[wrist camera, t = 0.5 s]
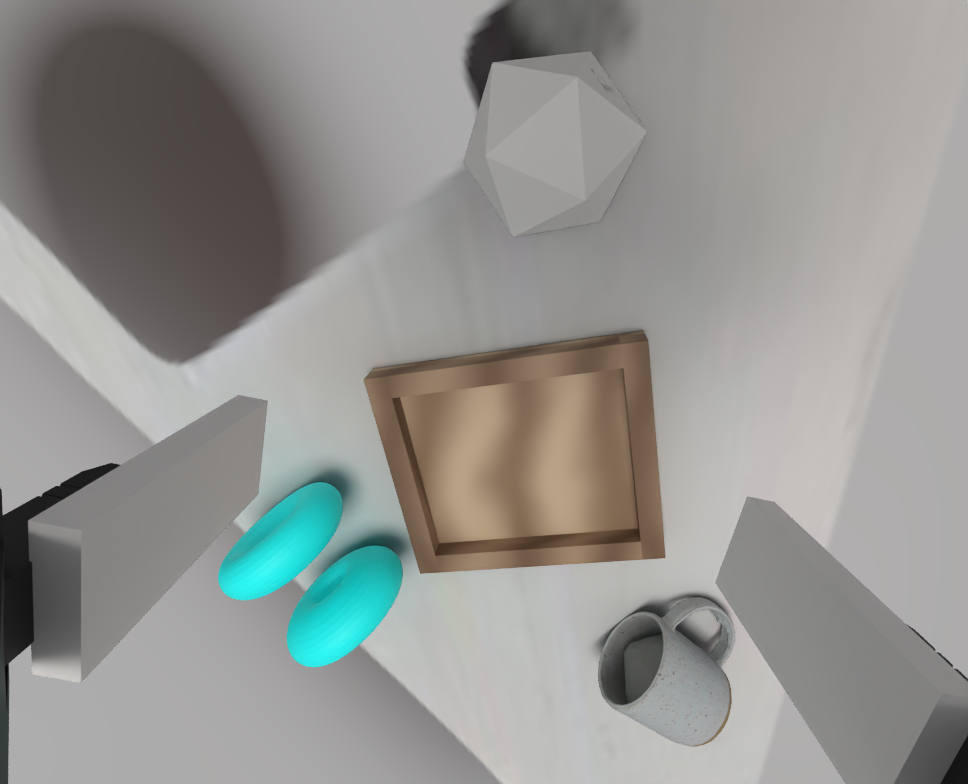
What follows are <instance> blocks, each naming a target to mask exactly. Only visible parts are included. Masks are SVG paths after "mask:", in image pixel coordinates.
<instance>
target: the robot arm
mask: <svg viewBox="0 0 968 784" xmlns="http://www.w3.org/2000/svg"><path fill="white" fill-rule="evenodd" d="M267 402H268V401H266V400H261V399H256V398H251V397H246V396H241V395H238V396H236V397H234V398H233V399H231V400H229V401H228V402H226V403H224V404H223V405H221V406H219V407H218V408H216V409H214V410H213V411H211V412H209V413H208V414H206V415H204V416H203V417H201V418H199V419H198V420H196V421H194V422H193V423H191V424H189V425H187V426H186V427H184V428H182V429H181V430H179V431H177V432H176V433H174V434H172V435H171V436H169V437H167V438H166V439H164V440H162V441H161V442H159V443H157V444H156V445H154V446H152V447H151V448H149V449H147V450H146V451H144V452H142V453H140V454H139V455H137V456H136V457H134V458H132V459H130V460H129V461H127V462H126V463H124V464H122V465H118V464H113V463H110V464H106V465H103V466H99V467H96V468H93V469H89V470H86V471H82V472H81V473H79V474H77V475H75V476H74V477H72V478H70V479H68V480H66V481H64V482H63V483H61V485H60V486H55V487H54V488H52V489H50V490H48V491H46V492H45V493H43V495H42V496H41V497H40V496H38V497H36V498H34V499H32V500H30V501H28V502H26V503H25V504H23V505H21V506H19V507H18V508H16V509H14V510H13V511H10V512H8V513H7V514H5V515H2V493H1V489H0V784H8V741H9V740H8V739H9V736H8V735H9V663H10V662H11V661H12V660H13V659H14V658H15V657H16V656H17V655H18V654H20V653H21V652H22V651H23V650H24V649H26V648H27V647H28V646H29V645H30V644H31V650H32V674H34V675H40V676H45V677H51V678H56V679H62V680H68V681H74V682H79V683H81V682H82V681H83V680H84V679H85V678H86V677H87V676H88V675H89V674H90V672H92V671H93V669H94V668H95V667H96V666H97V665H98V664H99V663H100V662H101V661H102V660H103V659H104V658H105V657H106V656H107V654H109V652H110V651H111V650H112V649H113V648H114V647H115V646H116V645H117V644H118V643H119V642H120V641H121V640H122V639H123V638H124V637H125V635H126V634H127V633H128V632H129V631H130V630H131V629H132V628H133V627H134V626H135V625H136V624H137V623H138V622H139V621H140V619H141V618H142V617H143V616H144V615H145V614H146V613H147V612H148V611H149V610H150V609H151V608H152V607H153V606H154V605H155V603H156V602H157V601H158V600H159V599H160V598H161V597H162V596H163V595H164V594H165V593H166V592H167V591H168V590H169V589H170V588H171V587H172V585H173V584H174V583H175V582H176V581H177V580H178V579H179V578H180V577H181V576H182V574H184V572H186V571H187V569H188V568H189V567H190V566H191V565H192V564H193V563H194V562H195V561H196V560H197V559H198V558H199V557H200V556H201V555H202V554H203V552H204V551H205V550H206V549H207V548H208V547H209V546H210V545H211V544H212V543H213V542H214V541H215V540H216V539H217V538H218V537H219V535H220V534H221V533H222V532H223V531H224V530H225V529H226V528H227V527H228V526H229V525H230V524H231V523H232V522H233V521H234V519H235V518H236V517H237V516H238V515H239V514H240V513H241V512H242V511H243V510H244V509H245V508H246V507H247V506H248V505H249V504H250V502H251V501H252V500H253V499H254V498H255V497H256V496H257V495H258V492H259V482H260V472H261V462H262V452H263V442H264V432H265V422H266V412H267ZM715 583H716V584H717V586H718V588H719V589H720V591H721V592H722V594H723V595H724V597H725V598H726V600H727V601H728V603H729V605H730V606H731V608H732V609H733V611H734V612H735V614H736V615H737V617H738V618H739V620H740V622H741V623H742V625H743V626H744V628H745V629H746V631H747V632H748V634H749V635H750V637H751V639H752V640H753V642H754V643H755V645H756V646H757V648H758V649H759V651H760V652H761V654H762V655H763V657H764V659H765V660H766V662H767V663H768V665H769V666H770V668H771V669H772V671H773V672H774V674H775V676H776V677H777V679H778V680H779V682H780V683H781V685H782V686H783V688H784V689H785V691H786V693H787V694H788V695H789V697H790V699H791V700H792V702H793V703H794V705H795V706H796V708H797V709H798V711H799V713H800V714H801V716H802V717H803V719H804V720H805V722H806V723H807V725H808V726H809V728H810V730H811V731H812V733H813V734H814V736H815V737H816V739H817V740H818V742H819V743H820V745H821V747H822V748H823V750H824V751H825V753H826V754H827V756H828V757H829V759H830V760H831V762H832V763H833V765H834V767H835V768H836V770H837V771H838V773H839V774H840V776H841V777H842V779H843V781H844V782H845V783H846V784H968V679H967V678H966V677H965V676H964V675H963V674H962V673H961V672H960V671H959V670H957V669H954V668H953V667H952V666H953V665H952V664H951V663H950V662H949V661H948V660H947V659H946V658H944V657H943V656H942V655H941V654H940V653H937V652H935V649H934V647H933V646H932V645H930V644H929V643H928V642H927V641H926V640H925V639H924V638H923V637H922V636H921V635H920V634H919V633H917V632H916V631H915V630H914V629H913V628H911V627H910V626H908V625H907V624H905V623H904V622H903V621H902V620H901V619H900V618H899V617H897V615H895V614H894V613H893V612H892V611H891V610H890V609H889V608H888V607H887V606H886V605H885V604H884V603H882V602H881V601H880V600H879V599H878V598H877V597H876V596H875V595H874V594H873V593H871V591H870V590H869V589H867V588H866V587H865V586H864V585H863V584H862V583H861V582H860V581H859V580H858V579H857V578H856V577H854V576H853V575H852V574H851V573H850V572H849V571H848V570H847V569H846V568H845V567H844V566H843V565H842V564H841V563H839V562H838V561H837V560H836V559H835V558H834V557H833V556H832V555H831V554H830V553H829V552H828V551H827V550H825V549H824V548H823V547H822V546H821V545H820V544H819V543H818V542H817V541H816V540H815V539H814V538H813V537H812V536H810V535H809V534H808V533H807V532H806V531H805V530H804V529H803V528H802V527H801V526H800V525H799V524H798V523H796V522H795V521H794V520H793V519H792V518H791V517H790V516H789V515H788V514H787V513H786V512H785V511H784V510H782V509H781V508H780V507H779V506H778V505H777V504H776V503H775V502H772V501H767V500H762V499H757V498H752V497H747V498H746V501H745V504H744V507H743V509H742V512H741V515H740V517H739V520H738V523H737V525H736V528H735V531H734V533H733V536H732V539H731V542H730V544H729V547H728V550H727V552H726V555H725V558H724V560H723V563H722V566H721V568H720V571H719V574H718V577H717V579H716V582H715Z"/></svg>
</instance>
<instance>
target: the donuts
mask: <svg viewBox="0 0 968 784" xmlns="http://www.w3.org/2000/svg"><path fill="white" fill-rule="evenodd" d="M342 511H343V502H342V498H341V495H340V493H339V491H338V490H337V489H336V488H335V487H334V486H332V485H330V484H328V483H324V482H316V483H312V484H309V485H306V486H304V487H302V488H300V489H299V490H297V491H295V492H294V493H292V494H291V495H289V496H288V497H286V498H285V499H284V500H282V501H281V502H280V503H279V504H277V505H276V506H275V507H274V508H272V509H271V510H270V511H269V512H268V513H266V514H265V515H264V516H263V517H262V518H261V519H260V520H259V521H257V522H256V523H255V524H254V525H253V526H252V527H251V528H250V529H249V530H248V531H247V532H246V533H245V534H244V535H243V536H242V538H240V540H239V541H238V542H237V543H236V544H235V545H234V547H233V548H232V549H231V550H230V552H229V553H228V554H227V556H226V557H225V559H224V560H223V562H222V564H221V567H220V569H219V575H218V581H219V584H220V587H221V589H222V591H223V592H224V593H225V594H226V595H228V596H229V597H231V598H234V599H238V600H251V599H256V598H259V597H262V596H265V595H267V594H270V593H272V592H274V591H275V590H277V589H279V588H280V587H282V586H284V585H285V584H286V583H288V582H289V581H291V580H292V579H293V578H294V577H296V576H297V575H298V574H299V573H300V572H302V571H303V570H304V569H305V568H306V567H307V566H308V565H309V564H310V563H311V562H312V561H313V560H314V559H315V558H316V557H317V556H318V555H319V553H320V552H321V551H322V550H323V549H324V547H325V546H326V545H327V543H328V542H329V541H330V539H331V538H332V536H333V535H334V533H335V531H336V529H337V527H338V525H339V522H340V520H341V516H342ZM402 576H403V570H402V565H401V561H400V559H399V557H398V556H397V555H396V554H395V553H394V552H393V551H392V550H390V549H389V548H386V547H383V546H367V547H363V548H360V549H357V550H355V551H353V552H350V553H349V554H347V555H345V556H344V557H342V558H340V559H339V560H338V561H336V562H335V563H334V564H332V565H331V566H330V567H329V568H328V569H327V570H325V571H324V572H323V573H322V574H321V575H320V576H319V577H318V578H317V579H316V580H315V581H314V583H313V584H312V585H311V586H310V587H309V589H308V590H307V591H306V592H305V594H304V595H303V596H302V598H301V599H300V601H299V603H298V604H297V606H296V608H295V610H294V612H293V615H292V617H291V619H290V622H289V626H288V632H287V645H288V649H289V652H290V654H291V655H292V657H293V658H294V659H295V660H296V661H297V662H298V663H300V664H302V665H304V666H308V667H319V666H324V665H327V664H330V663H333V662H335V661H337V660H339V659H340V658H342V657H343V656H345V655H347V654H348V653H349V652H351V651H352V650H353V649H354V648H356V647H357V646H358V645H360V644H361V643H362V642H363V641H364V640H365V639H366V638H367V637H368V636H369V635H370V634H371V633H372V632H373V631H374V630H375V628H376V627H377V626H378V625H379V624H380V622H381V621H382V620H383V618H384V617H385V616H386V614H387V613H388V611H389V609H390V608H391V607H392V605H393V603H394V601H395V599H396V597H397V595H398V592H399V590H400V587H401V583H402Z"/></svg>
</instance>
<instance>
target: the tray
mask: <svg viewBox="0 0 968 784" xmlns="http://www.w3.org/2000/svg"><path fill="white" fill-rule="evenodd" d="M364 382H365V386H366V389H367V393H368V396H369V400H370V403H371V406H372V410H373V413H374V417H375V420H376V424H377V427H378V430H379V434H380V437H381V441H382V444H383V448H384V451H385V454H386V458H387V461H388V465H389V468H390V471H391V475H392V478H393V482H394V485H395V489H396V492H397V495H398V499H399V502H400V506H401V509H402V513H403V516H404V519H405V523H406V526H407V530H408V533H409V537H410V540H411V543H412V547H413V550H414V554H415V557H416V560H417V564H418V567H419V571H420V574H421V573H437V572H453V571H469V570H484V569H500V568H516V567H532V566H547V565H563V564H579V563H595V562H610V561H626V560H642V559H658V558H665V546H664V534H663V521H662V509H661V496H660V484H659V471H658V459H657V446H656V434H655V421H654V409H653V397H652V384H651V372H650V359H649V347H648V339H647V337H646V335H645V333H644V331H636V332H629V333H622V334H615V335H608V336H601V337H594V338H587V339H580V340H572V341H565V342H558V343H551V344H544V345H537V346H530V347H523V348H516V349H509V350H502V351H495V352H488V353H480V354H473V355H466V356H459V357H452V358H445V359H438V360H431V361H424V362H417V363H410V364H403V365H396V366H389V367H381V368H374V369H373V370H372V371H371V372H370V373H369V374H368V375H367V376H366V378H365V379H364Z"/></svg>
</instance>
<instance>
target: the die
mask: <svg viewBox="0 0 968 784" xmlns="http://www.w3.org/2000/svg"><path fill="white" fill-rule="evenodd" d="M646 134H647V131H646V130H645V128H644V127H643V125H642V124H641V123H640V121H639V120H638V118H637V117H636V115H635V114H634V112H633V111H632V110H631V108H630V107H629V105H628V104H627V102H626V101H625V100H624V98H623V97H622V95H621V94H620V92H619V91H618V90H617V88H616V87H615V85H614V84H613V82H612V81H611V80H610V78H609V77H608V75H607V74H606V72H605V71H604V70H603V68H602V67H601V65H600V64H599V62H598V61H597V60H596V58H595V57H594V55H593V54H592V52H591V51H586V52H578V53H569V54H561V55H552V56H544V57H535V58H527V59H518V60H510V61H501V62H493V63H492V66H491V69H490V73H489V76H488V80H487V83H486V86H485V90H484V93H483V97H482V100H481V103H480V107H479V110H478V114H477V117H476V121H475V124H474V127H473V131H472V134H471V138H470V141H469V145H468V148H467V151H466V155H465V158H464V163H465V165H466V166H467V168H468V169H469V171H470V172H471V174H472V176H473V177H474V179H475V180H476V182H477V183H478V185H479V186H480V188H481V189H482V191H483V192H484V194H485V195H486V197H487V199H488V200H489V202H490V203H491V205H492V206H493V208H494V209H495V211H496V212H497V214H498V215H499V217H500V218H501V220H502V222H503V223H504V225H505V226H506V228H507V229H508V231H509V232H510V234H511V235H512V237H517V236H523V235H529V234H534V233H540V232H546V231H551V230H557V229H563V228H569V227H574V226H580V225H586V224H592V223H597V222H600V221H601V219H602V217H603V216H604V214H605V212H606V210H607V208H608V206H609V204H610V202H611V200H612V198H613V197H614V195H615V193H616V191H617V189H618V187H619V185H620V183H621V181H622V179H623V178H624V176H625V174H626V172H627V170H628V168H629V166H630V164H631V162H632V161H633V159H634V157H635V155H636V153H637V151H638V149H639V147H640V145H641V143H642V142H643V140H644V138H645V136H646Z"/></svg>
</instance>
